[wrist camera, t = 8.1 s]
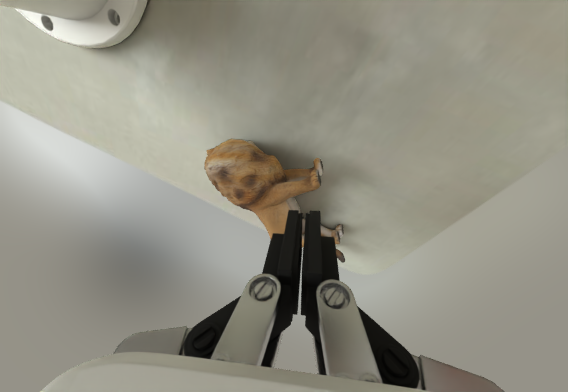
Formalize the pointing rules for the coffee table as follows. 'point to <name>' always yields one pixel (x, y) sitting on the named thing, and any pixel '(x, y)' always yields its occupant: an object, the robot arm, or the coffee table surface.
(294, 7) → the coffee table surface
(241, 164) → the lion figurine
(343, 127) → the coffee table surface
